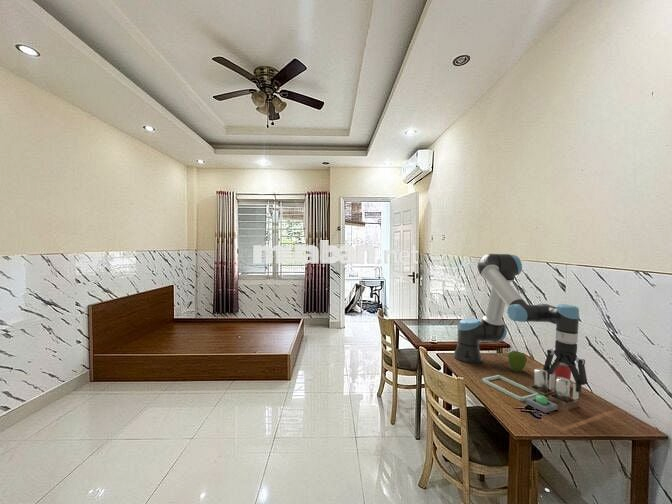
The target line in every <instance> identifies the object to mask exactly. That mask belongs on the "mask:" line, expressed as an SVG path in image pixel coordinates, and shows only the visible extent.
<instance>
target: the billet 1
mask: <svg viewBox="0 0 672 504" xmlns="http://www.w3.org/2000/svg"><path fill="white" fill-rule="evenodd" d="M533 373H534V374H533V376H534V377H533V378H534V379H533V382H534V384H533V385H535V389H536V390H538V391H540V392H543V393H547V392H548V388H549V382H548V373H547V371H545V370H543V368H534V369H533Z"/></svg>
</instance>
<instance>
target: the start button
mask: <svg viewBox="0 0 672 504" xmlns="http://www.w3.org/2000/svg"><path fill="white" fill-rule="evenodd" d="M547 401H548V398H547V397H545V396H543V395H536V402H537V403H539V404H541V405H543V406H545V405H547Z"/></svg>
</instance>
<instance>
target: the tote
mask: <svg viewBox="0 0 672 504" xmlns="http://www.w3.org/2000/svg"><path fill="white" fill-rule="evenodd" d="M499 379H500V380H502V381H504V382H506V383H509V384H510V385H513V386H515V387H517V388H519V389H521V390H523V391H525V390H526V391H528V392H527V393H529V392H530V393H529V395H525V396H520V395H517V394H515V393H513V392H511V391H509V390H507V389H505V388H503V387H501V386H499V385H497V384H495V383H493V382H491V381H493V380H499ZM480 381H481V382H482V383H484V384H485V385H488V386H490V387H492V388H493V389H495V390H497V391H499V392H502V393H503V394H505V395H508V396H509V397H511V398H514V399H516V400H517V401H519V402H526V399H528V398H532V397H535V396H536V395H540V394H539V393H537V392H535V391H533V390H531V389H528V388H527V386H524V385H523V384H521V383H518V382H516V381H514V380H511V379H509V378H507V377H505V376H502V375H501V374H500V375H499V374H496V375H492V376H487V377H482V378H481V379H480ZM526 391H525V392H526ZM531 393H532V394H531Z"/></svg>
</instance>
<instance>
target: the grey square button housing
mask: <svg viewBox="0 0 672 504" xmlns="http://www.w3.org/2000/svg"><path fill="white" fill-rule="evenodd" d="M525 404H527V405H528V406H531V407H532V408H534V409H536V410H539V411H541V412H542V413H545V414H546V413H550V412H553V411H555V410H558V407H559V406H558V405H557V404H555V403H553V402H550V401H547V405H545V406H543V405H541V404H539V403H537V402H536V396H535V397H532V398H528V399H526V400H525Z"/></svg>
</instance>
